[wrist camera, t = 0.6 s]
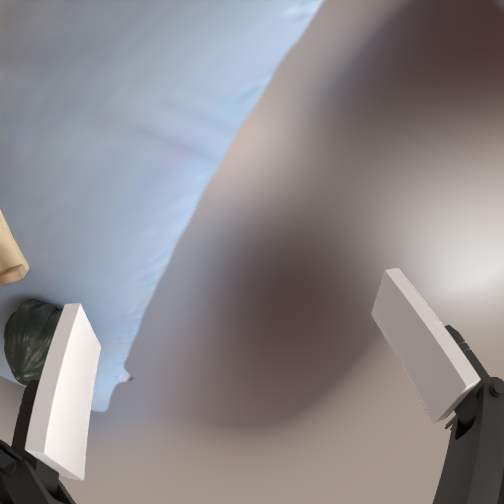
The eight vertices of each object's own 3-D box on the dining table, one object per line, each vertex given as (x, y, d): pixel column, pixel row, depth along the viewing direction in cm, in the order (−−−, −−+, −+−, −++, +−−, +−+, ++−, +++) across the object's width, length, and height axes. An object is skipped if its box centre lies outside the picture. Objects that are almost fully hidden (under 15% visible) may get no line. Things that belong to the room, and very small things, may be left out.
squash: (95, 386, 46) (71, 413, 31) (25, 369, 42) (-14, 387, 28) (99, 308, 48) (73, 310, 34) (28, 295, 45) (-14, 291, 31)
